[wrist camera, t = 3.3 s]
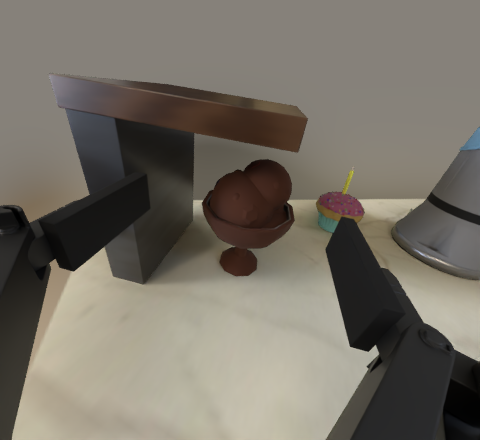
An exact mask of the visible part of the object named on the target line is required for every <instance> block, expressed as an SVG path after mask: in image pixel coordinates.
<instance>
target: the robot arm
mask: <svg viewBox="0 0 480 440" xmlns="http://www.w3.org/2000/svg"><path fill="white" fill-rule="evenodd" d="M460 150H461V151H460V152H459V154H458V155H457V157H456V158H455V159H454V161H453V162H452V164H451V165H450V166H449V168H448V170H447V171H446V172H445V174H444V175H443V176H442V178H441V179H440V181H439V182H438V183H437V185H436V186H435V188H434V189H433V190H432V192H431V193H430V195H429V196H428V197H427V199H426V200H425V201H424V202H423V203H422V204H421V205H419V206H418V207H417V208H415V209H414V210H412V209H411V210H410V211H409V213H408V215H407V216H405V217H404V218H403V219H401V220H399V221H398V222H397V223H396V224H395V226H394V227H393V229H392V236H393V238H394V239H395V241H396V242H397V243H398V244H399V245H400V246H401V247H402V248H403V249H405V250H406V251H407V252H409V253H410V254H411V255H413V256H414V257H416V258H418V259H419V260H421V261H423V262H425V263H426V264H428V265H430V266H432V267H434V268H437V269H439V270H441V271H444V272H446V273H449V274H452V275H455V276H458V277H462V278H466V279H472V280H480V127H479V128H478V129H477V130H476V131H475V132H474V134H473V135H472V136H471V137H470V139H469V140H468V141H467V142H466V144H465V145H464V146H463V147H461V149H460ZM150 209H151V207H150V197H149V188H148V178H147V174H145V173H141V172H135V173H133V174H131V175H129V176H127V177H125V178H123V179H121V180H119V181H117V182H115V183H113V184H111V185H109V186H107V187H105V188H103V189H101V190H99V191H97V192H95V193H93V194H91V195H89V196H87V197H85V198H83V199H81V200H77V201H73V202H72V203H69V204H68V205H65V207H61V208H59V209H57V211H53V212H51V213H49V214H47V215H45V216H43V217H41V218H39V219H37V220H35V221H33V222H31V223H29V221H28V220H27V218H26V215H25V213H24V211H23V209H22V208H21V207H19V206H15V205H3V206H0V440H12V433H13V429H14V424H15V420H16V416H17V412H18V407H19V403H20V399H21V395H22V390H23V386H24V382H25V378H26V373H27V369H28V365H29V361H30V356H31V352H32V348H33V344H34V339H35V335H36V331H37V327H38V322H39V318H40V314H41V310H42V305H43V301H44V297H45V293H46V288H47V284H48V280H49V276H50V271H51V266H50V264H49V263H50V262H51V261H53V260H54V259H56V261H57V263H58V265H59V267H60V268H63V269H66V270H70V271H75V270H76V269H78V268H79V267H80V266H81V265H83V264H84V263H85V262H86V261H87V260H89V259H90V258H91V257H92V256H94V255H95V254H96V253H97V252H98V251H100V250H101V249H102V248H103V247H104V246H106V245H107V244H108V243H109V242H111V241H112V240H113V239H114V238H115V237H117V236H118V235H119V234H120V233H122V232H123V231H124V230H125V229H126V228H128V227H129V226H130V225H131V224H133V223H134V222H135V221H136V220H137V219H139V218H140V217H141V216H142V215H143V214H145V213H146V212H147V211H148V210H150ZM325 250H326V254H327V258H328V262H329V266H330V270H331V274H332V278H333V281H334V285H335V289H336V293H337V297H338V301H339V305H340V309H341V313H342V317H343V321H344V325H345V329H346V332H347V336H348V340H349V344H350V347H353V348H356V349H360V350H364V351H367V352H369V351H370V350H371V349H372V348H373V347H374V346H375V345H376V346H377V349H378V352H379V355H378V356H377V357H376V358H375V359H374V360H373V361H372V362H371V363H370V364H369V365H368V366H367V368H369V369H368V371H367V373H366V374H365V376H364V378H363V379H362V381H361V383H360V384H359V386H358V388H357V389H356V391H355V393H354V394H353V396H352V397H351V399H350V401H349V402H348V404H347V406H346V407H345V409H344V411H343V412H342V414H341V416H340V417H339V419H338V421H337V422H336V424H335V426H334V427H333V429H332V431H331V432H330V434H329V435H328V437H327V439H326V440H480V362H478V361H476V360H474V359H472V358H470V357H468V356H466V355H464V354H462V353H460V352H458V351H456V350H454V348H453V346H452V344H451V343H450V342H449V341H448V339H447V338H446V337H445V336H444V335H443V334H441V333H440V332H439V331H438V330H436V329H435V328H433V327H431V326H430V325H428V324H425V323H424V322H423V321H422V319H421V317H420V316H419V314H418V313H417V311H416V309H415V308H414V306H413V304H412V303H411V301H410V299H409V298H408V296H406V293H405V291H404V289H403V288H402V286H401V285H400V283H399V281H398V280H397V278H396V277H395V276H394V275H393V274H392V273H391V272H390V271H389V270H388V269H385V268H381V267H380V265H379V264H378V262H377V260H376V258H375V256H374V255H373V253H372V251H371V249H370V247H369V246H368V244H367V242H366V240H365V238H364V237H363V235H362V233H361V231H360V229H359V227H358V226H357V224H356V222H355V220H354V219H351V218H347V217H342V216H341V218H340V220H339V222H338V224H337V226H336V229H335V231H334V233H333V235H332V237H331V239H330V241H329V243H328V245H327V247H326V249H325Z"/></svg>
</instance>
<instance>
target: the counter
mask: <svg viewBox="0 0 480 440" xmlns="http://www.w3.org/2000/svg"><path fill="white" fill-rule="evenodd" d="M48 75H49V78H50V81H51V84H52V88H53V91H54V94H55V98H56V101H57V105H58V106H59V107H60V108H65V110H66V113H67V117H68V120H69V124H70V127H71V130H72V134H73V138H74V141H75V145H76V148H77V152H78V155H79V159H80V162H81V166H82V169H83V172H84V176H85V180H86V183H87V187H88V190H89V194H90V195H91V194H93V193H95V192H97V191H99V190H101V189H103V188H105V187H107V186H109V185H111V184H113V183H115V182H117V181H119V180H121V179H123V178H125V177H127V176H129V175H131V174H133V173H135V172H141V173H145V174H147V178H148V188H149V197H150V207H151V209H150V210H148V211H147V212H146V213H145V214H143V215H142V216H141V217H140V218H139V219H137V220H136V221H135V222H134V223H133V224H131V225H130V226H129V227H128V228H126V229H125V230H124V231H123V232H122V233H120V234H119V235H118V236H117V237H115V238H114V239H113V240H112V241H111V242H109V243H108V244H107V245H106V246H105V250H106V253H107V257H108V260H109V264H110V267H111V271H112V274H113V276H114V277H117V278H121V279H125V280H129V281H132V282H136V283H140V284H145V282H146V281H147V280H148V278H149V277H150V276H151V274H152V273H153V272H154V270H155V269H156V268H157V266H158V265H159V264H160V263H161V261H162V260H163V259H164V257H165V256H166V255H167V253H168V252H169V251H170V249H171V248H172V247H173V245H174V244H175V243H176V241H177V240H178V239H179V237H180V236H181V235H182V233H183V232H184V231H185V230H186V228H187V227H188V226H189V224H190V223H191V222H192V220H193V173H194V172H193V171H194V133H197V134H202V135H208V136H213V137H218V138H224V139H228V140H234V141H239V142H244V143H250V144H255V145H260V146H265V147H270V148H276V149H281V150H287V151H291V152H298V151H299V148H300V144H301V141H302V138H303V134H304V131H305V127H306V124H307V120H308V118H307V117H306V116H305V115H304V114H303V113H302V112H301V111H300V110H299V108H298V107H297V106H292V105H286V104H280V103H274V102H268V101H263V100H257V99H251V98H245V97H239V96H233V95H227V94H221V93H216V92H210V91H204V90H198V89H192V88H186V87H180V86H174V85H168V84H159V83H148V82H137V81H127V80H116V79H106V78H96V77H86V76H74V75H65V74H54V73H49V74H48Z"/></svg>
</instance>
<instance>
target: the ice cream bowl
mask: <svg viewBox="0 0 480 440" xmlns="http://www.w3.org/2000/svg"><path fill="white" fill-rule="evenodd" d="M291 191H292V183H291V179H290V176H289V174H288V173H287V171H286V170H285V168H284V167H283V166H281V165H280V164H279V163H277V162H275V161H272V160H268V159H267V160H256V161H254V162H251V164H249V165H248V166H247V167H246V168H245V170H244V171H241V170H236V171H234V172H232V173H228V174H226V175H225V176H223V177H222V178H220V179H219V180H218V181H217V183H216V185H215V188H214V190H211V191H209V193H208V194H207V196H206V198H205V199H204V201H203V202H202V206H203V212H204V215H205V217H206V219H207V221H208V223H209V225H210V226H211V228H212V229H213V231H214V232H215V234H216V235H217V237H218V238H220V239H221V240H223V241H224V242H227V243H229V244H231V245H233V246H235V247H231V248H229V249H227V250H226V251H224V252H223V253H222V256H221V259H220V264H221V266H222V267H223V269H224V271H226V272H228V273H230V274H232V275H234V276H248V275H250V274H251V273H252V272H254V271H255V270H256V268H257V258H256V257H255V256H254V254H253V253H252V252H251V251H249V250H247V249H251V248H263V247H267V246H268V245H270V244H272V243H273V242H275V241H276V240H278V239H279V238H281V237H282V236H283V235H284V234H285V233H286V232H287V231H289V229H290V227H291V226H292V224H293V223H294V221H295V220H294V214H293V208H292V206H291V205H290V204H288V203H287V201H288V200H289V197H290V195H291Z"/></svg>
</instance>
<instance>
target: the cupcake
mask: <svg viewBox="0 0 480 440" xmlns="http://www.w3.org/2000/svg"><path fill="white" fill-rule="evenodd" d="M353 169H354V166H353V168H352V171H350V173H349V175H348V178H347V180H346V183H345V186H344V188H343V191H342V192H328V193H326V194H324V195H322V196H320V198H319V199H318V201H317V202H316V206H317V209H318V212H319V221H318V223H319V225H320V227H321V228H323V229H324V230H326V231H329V232H332V233H334V231H335V229H336V226H337V224H338V222H339V220H340V218H341V216H342V217H347V218H351V219H354V220H355V222H356V223H357V222H359V221H360V220H361V219H362V218H363V215H364V213H365V212H364V208H362V206H361V204H360V202H359V201H358V200H357V199H355V198H354V197H352V196H350V195H347V194H346V191H347V188H348V186H349V183H350V181H351V178H352V176H353V173H354V171H353Z"/></svg>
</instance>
